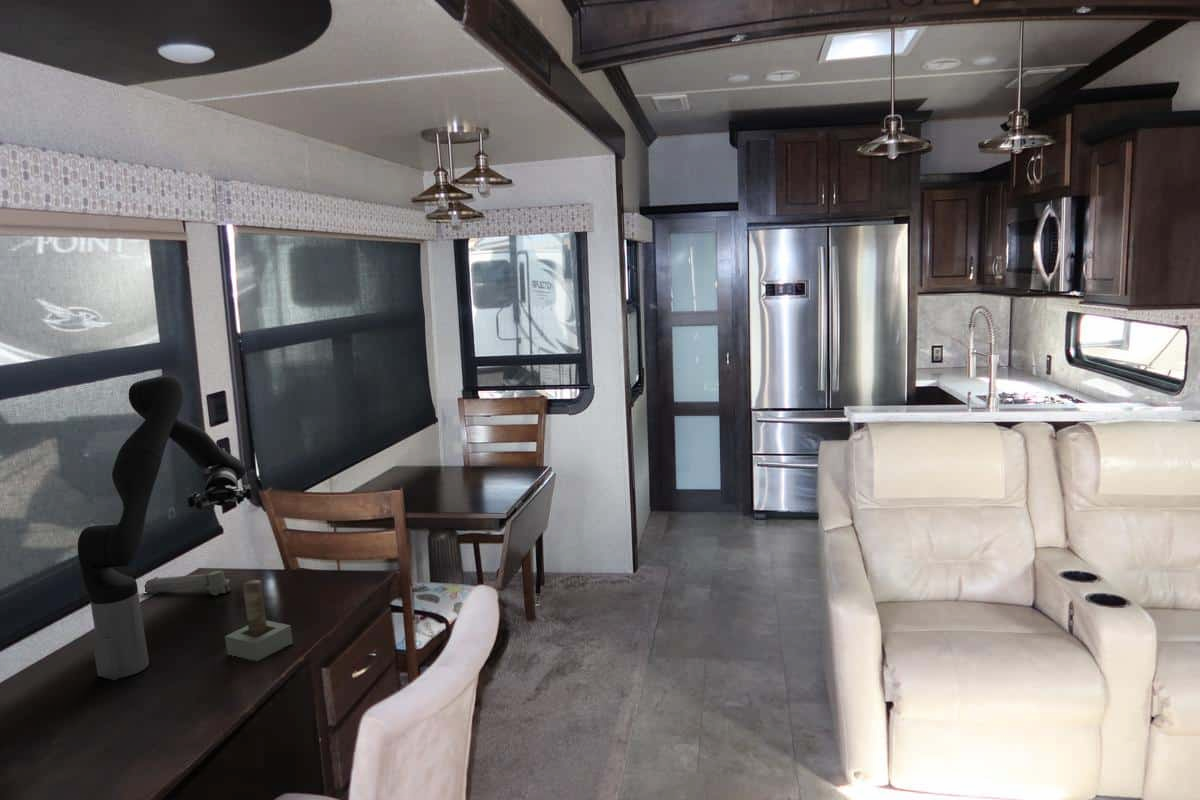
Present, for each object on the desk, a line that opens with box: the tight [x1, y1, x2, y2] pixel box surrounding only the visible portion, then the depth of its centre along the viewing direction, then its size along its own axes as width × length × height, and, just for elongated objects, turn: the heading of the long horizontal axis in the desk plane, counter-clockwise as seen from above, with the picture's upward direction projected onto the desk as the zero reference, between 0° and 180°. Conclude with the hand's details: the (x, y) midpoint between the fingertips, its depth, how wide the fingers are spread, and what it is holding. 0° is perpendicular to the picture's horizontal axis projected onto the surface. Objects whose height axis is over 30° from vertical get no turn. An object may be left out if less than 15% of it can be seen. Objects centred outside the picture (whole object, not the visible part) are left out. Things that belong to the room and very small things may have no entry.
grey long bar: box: [144, 569, 231, 596], centre depth 236 cm, size 5×7×25 cm
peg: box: [242, 579, 267, 638], centre depth 196 cm, size 4×4×16 cm
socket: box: [224, 619, 294, 661], centre depth 197 cm, size 10×10×4 cm
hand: (219, 502), depth 205 cm, fingers open, 8 cm apart
